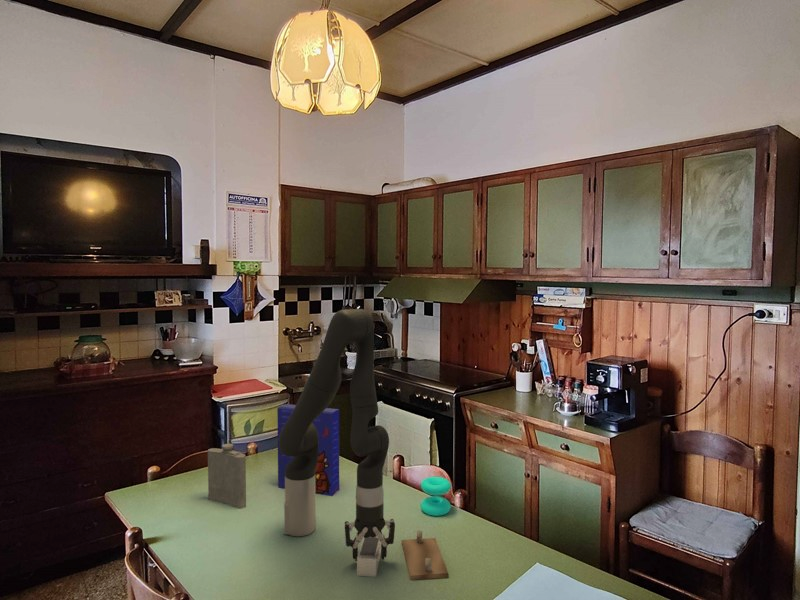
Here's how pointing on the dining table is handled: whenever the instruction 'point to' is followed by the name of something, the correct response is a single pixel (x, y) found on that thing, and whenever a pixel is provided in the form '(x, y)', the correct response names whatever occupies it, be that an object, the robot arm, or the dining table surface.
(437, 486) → the donuts
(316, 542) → the dining table surface
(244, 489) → the hip flask
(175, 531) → the dining table surface
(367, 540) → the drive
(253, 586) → the dining table surface
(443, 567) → the pin tray
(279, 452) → the cereal box
